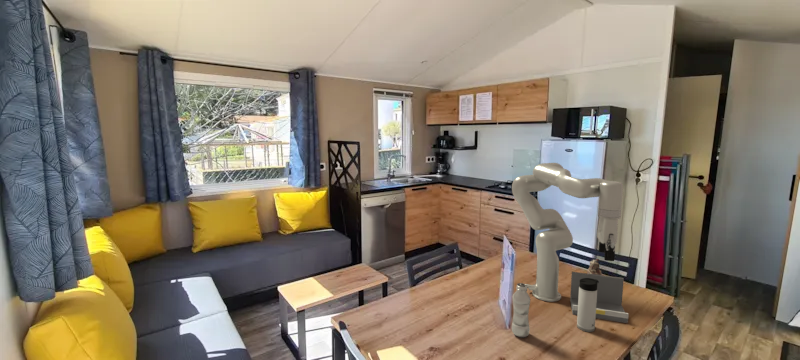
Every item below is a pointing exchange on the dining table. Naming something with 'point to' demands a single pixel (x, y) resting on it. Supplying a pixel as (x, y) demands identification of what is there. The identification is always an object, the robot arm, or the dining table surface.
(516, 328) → the plastic bottle
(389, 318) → the dining table surface
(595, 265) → the figurine
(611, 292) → the grey bookend
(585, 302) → the travel mug
